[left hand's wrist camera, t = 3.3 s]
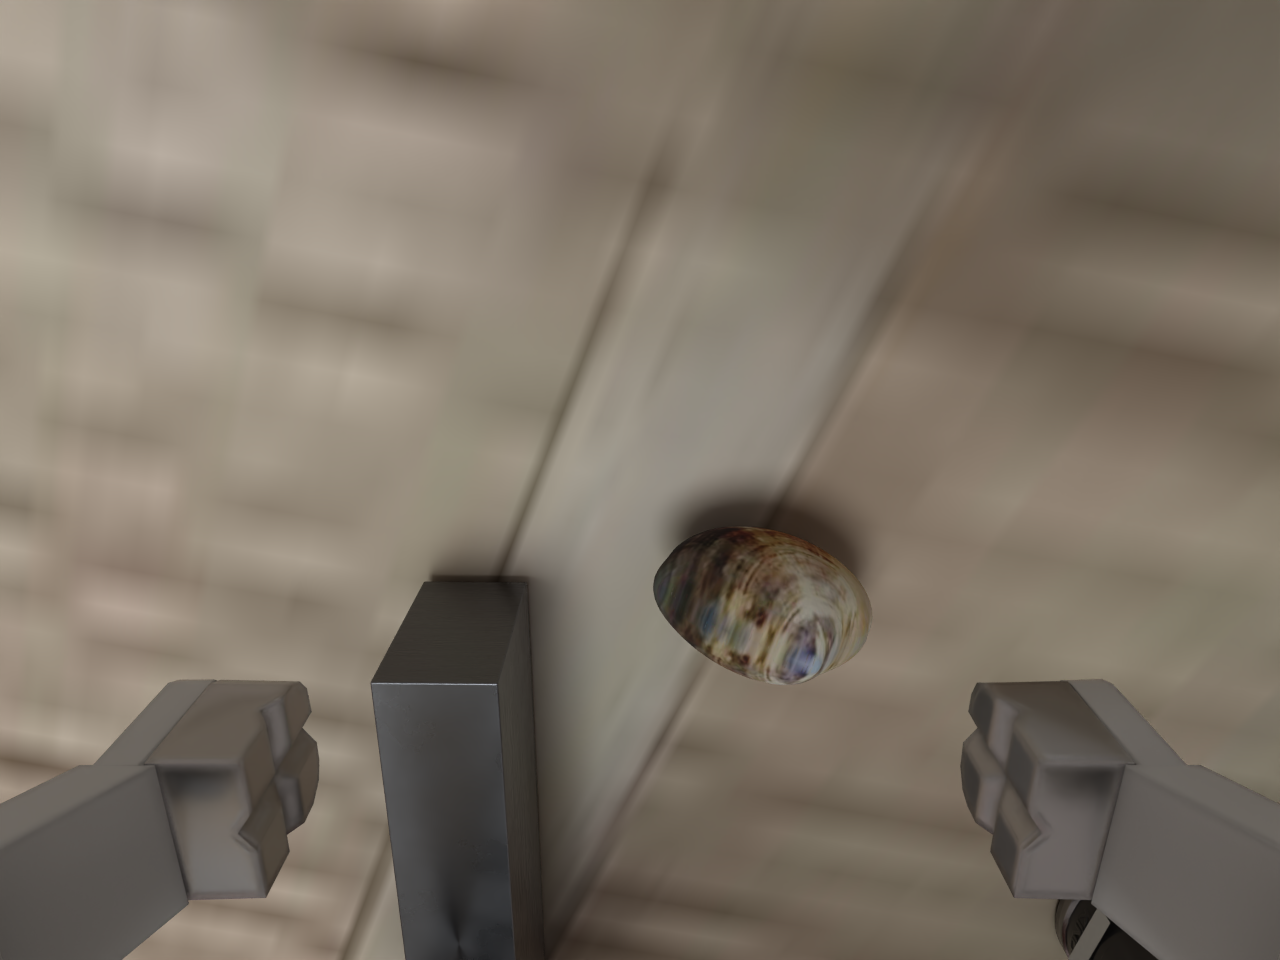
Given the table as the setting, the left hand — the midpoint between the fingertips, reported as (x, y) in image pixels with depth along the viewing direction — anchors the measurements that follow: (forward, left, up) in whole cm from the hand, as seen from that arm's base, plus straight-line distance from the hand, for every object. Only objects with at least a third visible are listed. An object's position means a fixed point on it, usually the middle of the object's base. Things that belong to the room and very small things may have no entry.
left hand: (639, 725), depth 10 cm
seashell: (-2, +12, -26) cm, 29 cm away
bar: (+14, +22, -26) cm, 36 cm away
